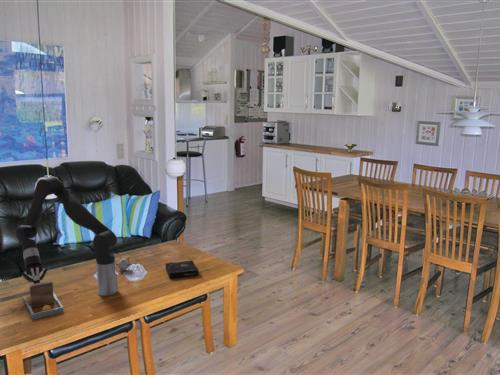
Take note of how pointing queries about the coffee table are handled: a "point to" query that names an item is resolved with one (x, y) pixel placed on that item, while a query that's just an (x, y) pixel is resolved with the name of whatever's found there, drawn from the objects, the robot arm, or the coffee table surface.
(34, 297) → the board
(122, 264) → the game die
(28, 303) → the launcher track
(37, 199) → the robot arm
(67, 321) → the coffee table surface
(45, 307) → the ball
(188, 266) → the portable cd player
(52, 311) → the blue-grey rectangular frame
